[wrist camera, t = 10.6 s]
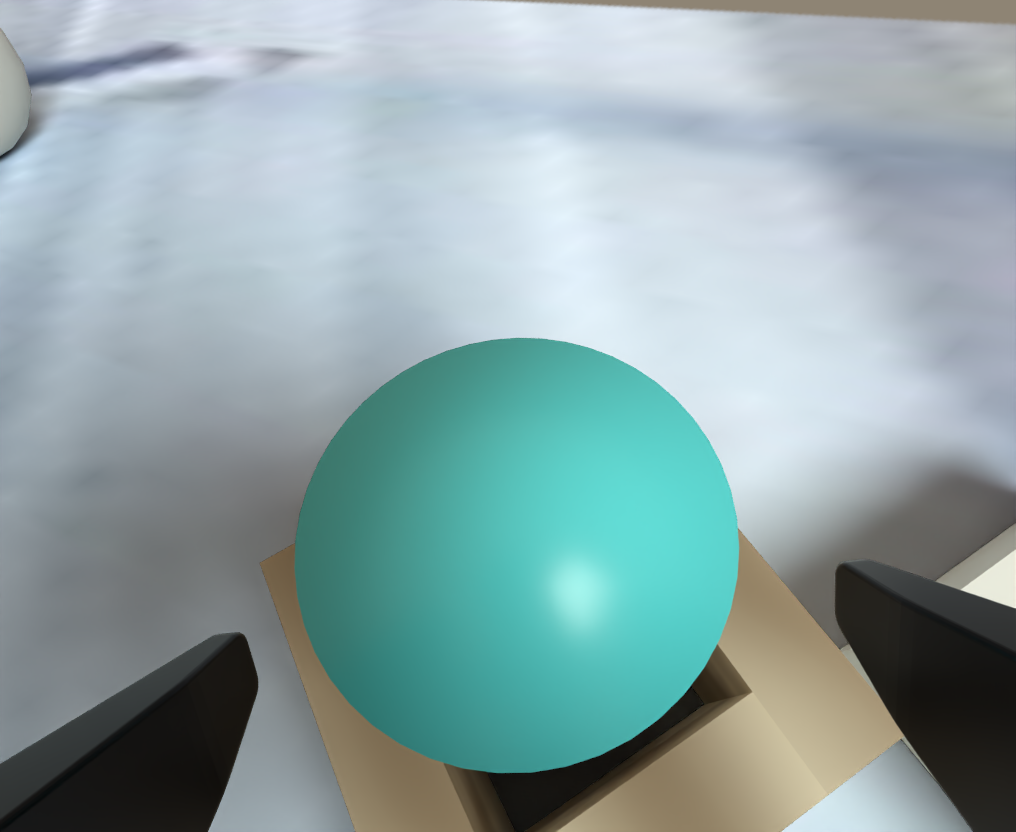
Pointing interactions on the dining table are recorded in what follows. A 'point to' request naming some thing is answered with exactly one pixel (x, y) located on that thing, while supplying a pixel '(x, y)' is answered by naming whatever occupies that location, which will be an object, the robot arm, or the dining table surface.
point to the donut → (12, 96)
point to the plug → (516, 555)
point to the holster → (974, 584)
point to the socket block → (659, 765)
